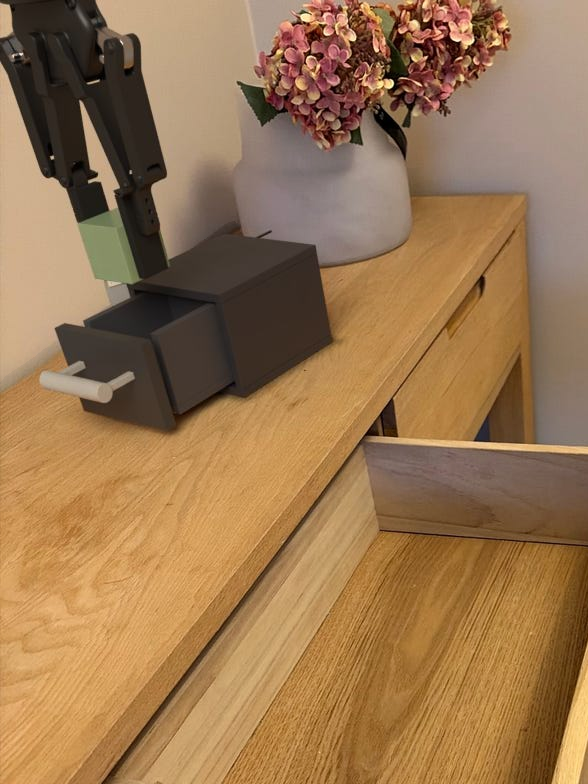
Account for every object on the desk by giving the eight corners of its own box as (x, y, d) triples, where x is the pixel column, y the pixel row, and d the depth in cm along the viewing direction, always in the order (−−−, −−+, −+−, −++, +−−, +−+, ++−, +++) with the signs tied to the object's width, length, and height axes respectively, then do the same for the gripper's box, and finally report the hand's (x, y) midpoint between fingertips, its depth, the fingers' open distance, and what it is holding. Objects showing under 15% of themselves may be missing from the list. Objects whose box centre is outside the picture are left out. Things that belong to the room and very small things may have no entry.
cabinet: (244, 397, 91) (219, 294, 85) (154, 378, 96) (124, 279, 90) (332, 341, 100) (315, 244, 93) (245, 326, 104) (224, 233, 98)
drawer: (130, 454, 82) (100, 366, 77) (46, 432, 86) (13, 347, 81) (260, 373, 93) (241, 291, 88) (180, 357, 97) (157, 278, 92)
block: (133, 261, 86) (117, 207, 83) (170, 266, 84) (155, 211, 81) (94, 278, 83) (76, 223, 80) (132, 284, 81) (115, 228, 78)
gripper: (-94, -58, 70) (27, 274, 84) (75, -69, 62) (176, 297, 77) (-7, -70, 74) (93, 246, 89) (159, -81, 67) (239, 265, 82)
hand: (131, 269), depth 83 cm, fingers closed on block, 4 cm apart
